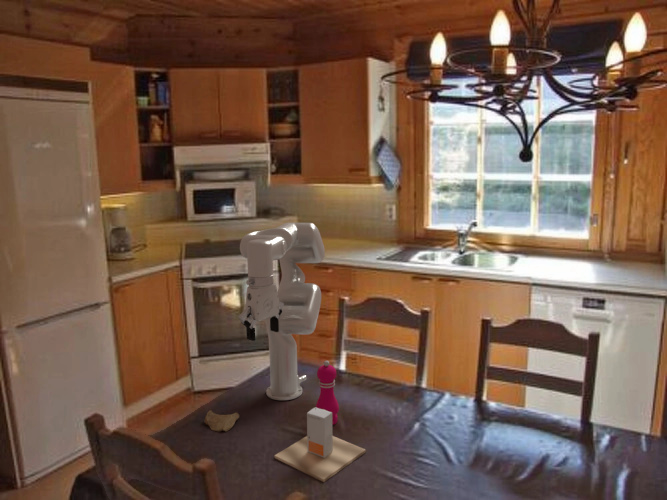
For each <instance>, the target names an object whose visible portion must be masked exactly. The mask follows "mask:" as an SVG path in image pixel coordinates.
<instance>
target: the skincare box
mask: <svg viewBox="0 0 667 500" xmlns="http://www.w3.org/2000/svg"><path fill="white" fill-rule="evenodd" d="M333 431H334V430H333V425H332V412H329V411H326V410H324V409H319V408H316V406H315V407H313V408H311V409H310V410H309V411H308V412H306V433H307V434H306V436H307V447H308V452H310V453H313V454H315V455H318V456H321V457H323V458H326V457H327V456H328V455H329V454H330V453H331V452H333V436H334V435H333Z"/></svg>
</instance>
